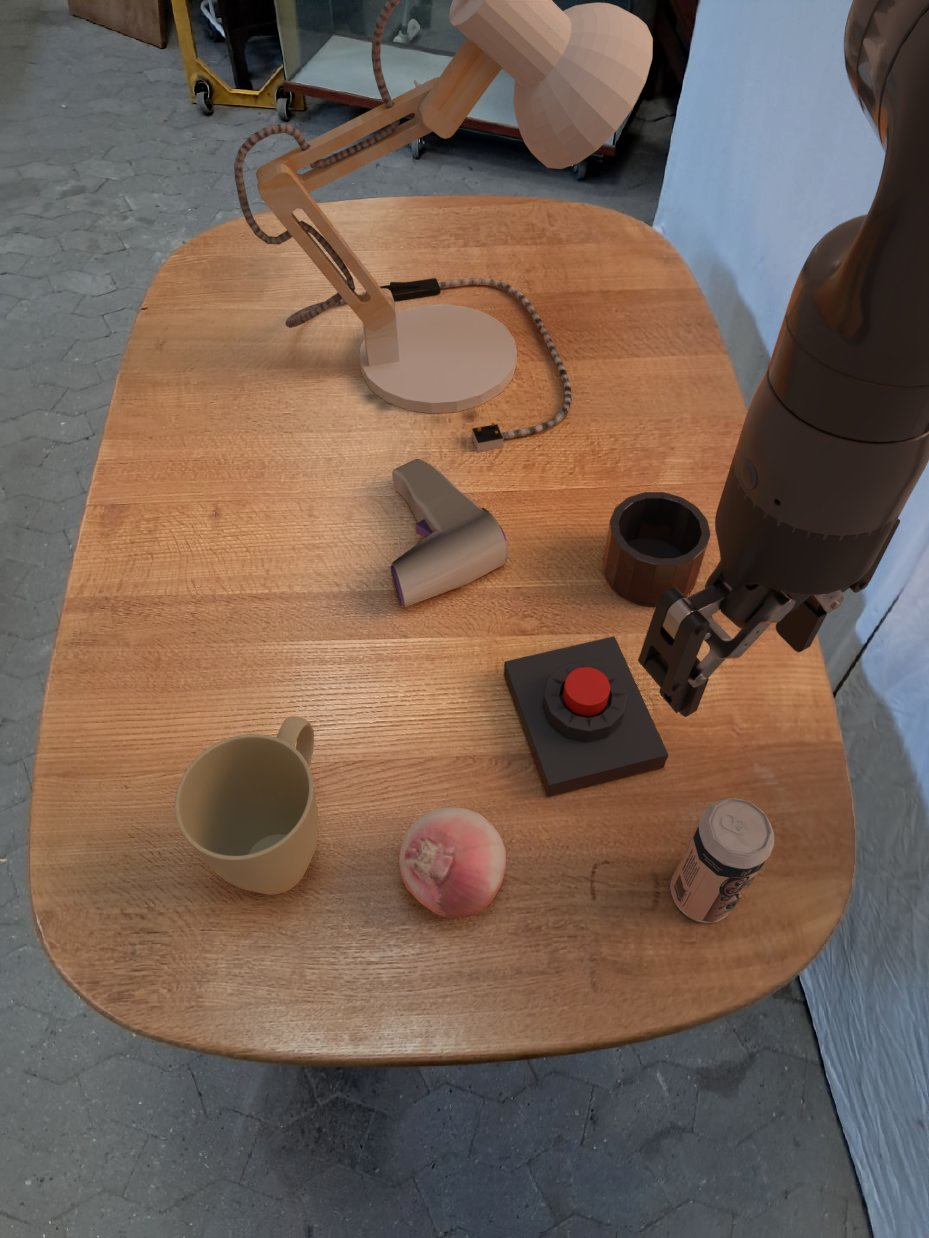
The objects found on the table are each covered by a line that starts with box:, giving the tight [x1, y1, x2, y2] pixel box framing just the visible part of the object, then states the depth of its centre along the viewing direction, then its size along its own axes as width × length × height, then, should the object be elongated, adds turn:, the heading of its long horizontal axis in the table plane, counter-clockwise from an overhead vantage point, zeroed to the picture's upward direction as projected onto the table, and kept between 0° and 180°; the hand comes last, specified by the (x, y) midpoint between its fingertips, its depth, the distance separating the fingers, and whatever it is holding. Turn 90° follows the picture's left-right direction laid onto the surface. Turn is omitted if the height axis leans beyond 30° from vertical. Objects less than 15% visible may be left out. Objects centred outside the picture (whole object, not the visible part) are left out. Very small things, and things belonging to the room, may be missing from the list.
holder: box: [602, 491, 711, 608], centre depth 83 cm, size 9×9×6 cm
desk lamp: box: [233, 0, 654, 453], centre depth 88 cm, size 31×38×40 cm
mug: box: [174, 715, 320, 896], centre depth 65 cm, size 11×10×12 cm
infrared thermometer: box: [390, 458, 509, 608], centre depth 86 cm, size 5×12×15 cm
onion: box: [398, 806, 508, 919], centre depth 65 cm, size 8×8×7 cm
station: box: [503, 636, 669, 798], centre depth 75 cm, size 12×10×4 cm
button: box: [563, 667, 610, 716], centre depth 73 cm, size 4×4×2 cm
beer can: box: [669, 797, 775, 924], centre depth 62 cm, size 5×5×12 cm
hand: (736, 670), depth 53 cm, fingers open, 8 cm apart
